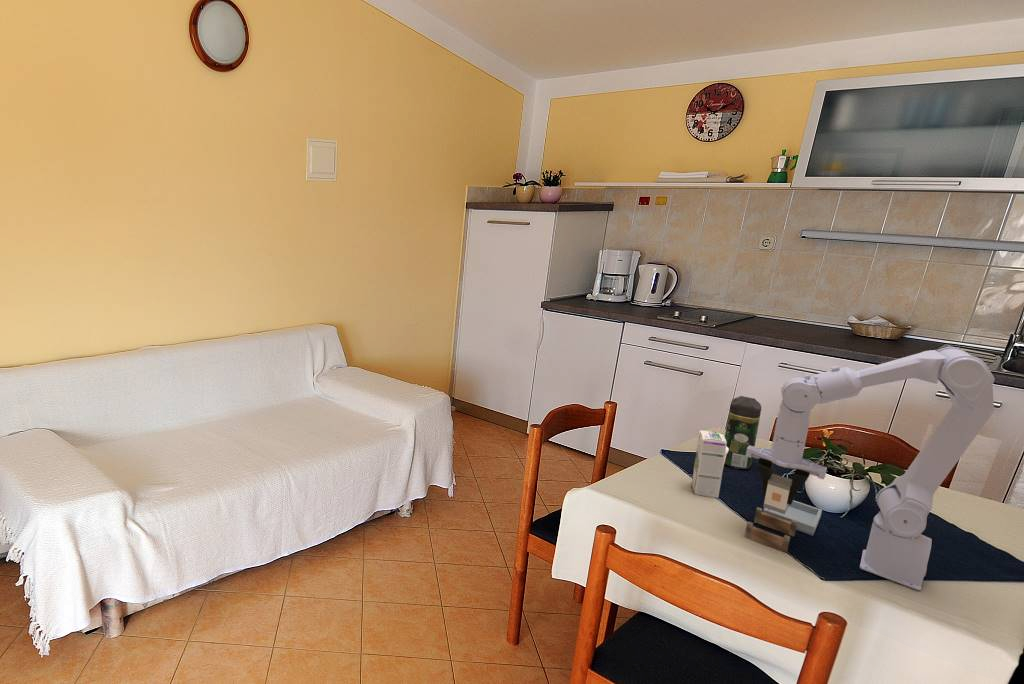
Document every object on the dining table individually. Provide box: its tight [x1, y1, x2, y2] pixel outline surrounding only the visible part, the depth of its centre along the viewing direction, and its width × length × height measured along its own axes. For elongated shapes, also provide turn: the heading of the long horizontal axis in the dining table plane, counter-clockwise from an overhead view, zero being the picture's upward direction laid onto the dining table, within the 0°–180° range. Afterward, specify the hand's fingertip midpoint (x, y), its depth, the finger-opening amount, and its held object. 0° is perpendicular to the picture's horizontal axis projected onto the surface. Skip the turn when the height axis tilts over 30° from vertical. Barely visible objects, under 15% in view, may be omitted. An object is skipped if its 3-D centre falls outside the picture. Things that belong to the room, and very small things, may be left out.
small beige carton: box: [762, 473, 792, 514], centre depth 109 cm, size 4×4×6 cm
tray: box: [762, 499, 823, 537], centre depth 119 cm, size 10×10×2 cm
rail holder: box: [743, 506, 798, 554], centre depth 111 cm, size 8×9×3 cm
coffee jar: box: [724, 395, 762, 470], centre depth 145 cm, size 10×8×19 cm
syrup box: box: [691, 430, 727, 499], centre depth 128 cm, size 6×6×14 cm
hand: (777, 498), depth 110 cm, fingers closed on small beige carton, 4 cm apart
